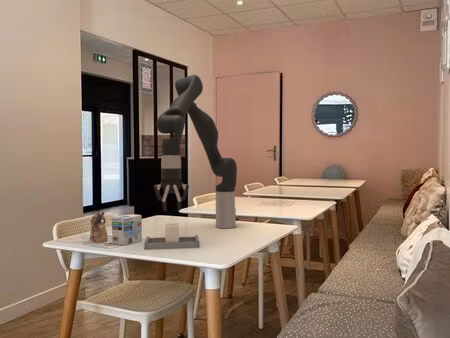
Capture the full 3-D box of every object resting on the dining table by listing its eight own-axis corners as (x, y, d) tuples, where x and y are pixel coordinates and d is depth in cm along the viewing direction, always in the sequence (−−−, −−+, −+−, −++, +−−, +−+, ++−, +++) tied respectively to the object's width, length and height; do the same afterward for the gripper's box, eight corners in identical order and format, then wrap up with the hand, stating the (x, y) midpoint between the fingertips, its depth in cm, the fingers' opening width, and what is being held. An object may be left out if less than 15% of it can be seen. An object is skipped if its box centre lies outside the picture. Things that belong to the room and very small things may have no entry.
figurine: (88, 240, 179) (87, 211, 179) (106, 239, 182) (105, 210, 181) (90, 243, 173) (89, 213, 172) (108, 242, 175) (108, 212, 175)
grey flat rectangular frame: (197, 241, 176) (197, 235, 175) (199, 247, 164) (199, 241, 164) (146, 242, 173) (146, 236, 173) (144, 249, 162) (144, 242, 161)
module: (178, 243, 173) (178, 223, 173) (179, 247, 165) (178, 226, 165) (165, 243, 172) (165, 223, 172) (165, 247, 164) (165, 226, 164)
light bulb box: (123, 245, 168) (123, 218, 168) (111, 244, 172) (110, 217, 171) (142, 241, 177) (142, 214, 177) (130, 239, 181) (130, 213, 180)
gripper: (189, 166, 172) (190, 209, 173) (153, 167, 170) (153, 210, 171) (190, 167, 164) (190, 212, 165) (151, 167, 163) (152, 213, 164)
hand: (171, 211), depth 168 cm, fingers open, 4 cm apart
